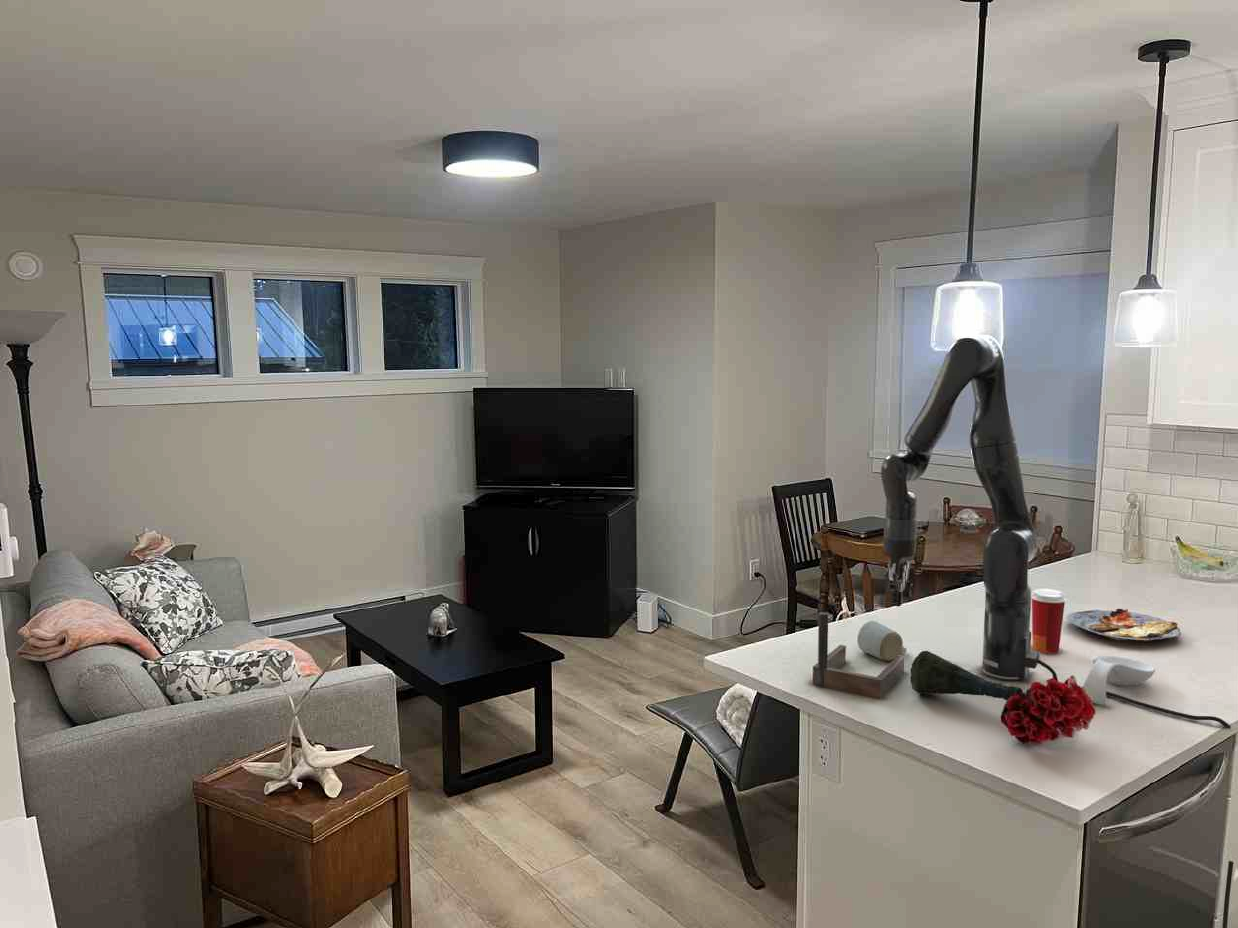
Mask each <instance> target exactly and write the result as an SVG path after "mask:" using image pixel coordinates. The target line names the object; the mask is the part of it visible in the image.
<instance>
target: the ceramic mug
mask: <svg viewBox="0 0 1238 928" xmlns="http://www.w3.org/2000/svg"><path fill="white" fill-rule="evenodd" d="M856 639H857V640H856V641H857V646H858V648H859V649H860V651H862V652H864V653H866V654H868V655H871V656H873V657H875V658H878V659H879V660H882V661H886V662H890V661H891V662H892V661H893V660H894V659H895V658H896V657H897V656H900V654H901V655H906V653H907V647H905V646H904V642H903V637H902V636H901V635H900V634H899V633H898V632H897V631H895V630H894V629H891V628H890V627H887V626H885V625H884V624H881V623H880V622H877V621H875V620H870V621H867V622H865V623H864V624H863V625H862V626H861V627H860V629H859V631H858V633H857V638H856Z"/></svg>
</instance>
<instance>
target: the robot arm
mask: <svg viewBox="0 0 1238 928" xmlns="http://www.w3.org/2000/svg"><path fill="white" fill-rule="evenodd" d="M1004 358H1005V357H1004V351H1003V349H1002V346H1001V345H1000V343H999V342H998V341H997V339H996V338H994V337H993V336H990V335H988V334H980V335H968V336H963V337H961V338H958V339H957V340H955V341H954V342H953V343H952V344H951V345H950V347H949V349H948V350H947V352H946V355H945V356H944V359H943V362H942V365H941V367H940V369H939V372H938V374H937V376H936V379H935V381H934V383H933V386H932V388H931V390H930V392H929V394H928V397H927V399H926V401H925V402H924V404H923V406H922V408H921V409H920V411H919V413H918V414H917V416H916V418H915V419H914V421H913V422H912V424H911V426H910V427H909V429H908V430H907V432H906V434H905V436H904V444H905V445H906V447H907V448H906V450H905V451H904V452H900V453H892V454H890V455H888V456H886V457H885V458H884V460H883V462H882V464H881V467H880V476H881V477H880V478H881V482H882V487H883V491H884V496H885V500H886V501H885V502H886V503H885V519H884V525H883V542H882V543H883V545H882V553H883V554H884V555H885V556H887V557H889V558H890V560H889V562H888V563H887V570H888V571H886V572H885V574H884V575H885V576H884V577H885V580H886V583H887V588H888V590H889V591H891V606H893V607H901V606H902V605H903V601H904V599H903V598H904V590H905V588H906V587H907V585H908V580H909V576H910V571H911V567H912V564H911V562H909V558H913V557H915V556H916V554H917V533H918V532H917V531H918V525H917V512H918V511H917V509H918V507H917V506H918V501H917V496H916V495H915V494H914V493H912V492H909V491H908V490H909V489H908V483H912V482H915V481H918V480H919V479H920V478H922V476H923V475H924V474H925V473H926V472H927V469H928V467H929V465H930V461H931V458H932V455H933V451H934V449H935V448H936V446H937V445H938V443H939V442H940V440H941V439H942V437H943V436H944V434H945V433H946V430H947V429H948V427H949V424H950V422H951V420H952V415H953V411H954V407H955V404H956V402H957V400H958V398H959V396H960V394H962V392H963V390H964V389H965V388H966V387H967V386H968V384H969V383H970V382H971V387H972V392H973V398H974V409H973V410H974V411H973V415H972V420H971V426H970V432H969V445H970V451H971V455H972V456H971V458H972V461H973V467H974V470H975V473H976V475H977V478H978V479H979V482H980V483H981V485H982V487H983V489H984V491H985V493H986V495H987V497H988V499H989V502H990V506H991V510H992V516H993V523H994V530H993V531H992V532H990V533H989V534H988V536H987V537H986V539H985V541H984V545H983V555H982V558H983V559H982V581H983V586H984V589H985V595H984V597H985V599H984V620H983V621H984V622H983V639H982V640H983V642H982V644H983V645H982V660H981V672H982V673H983V674H984V675H986V676H988V677H991V678H994V679H998V680H1002V681H1022V682H1025V681H1026V679H1027V678H1028V676H1029V675H1030V669H1033V670H1034V669H1036V668H1037V666H1038V664H1039V665H1040V666H1041V667H1043V668H1045V669H1046V670H1048V671H1049V672H1050V673H1051V675H1052V677H1054V679H1055V680H1056V681H1057V682H1060V681H1059V679H1058V674H1057V673H1056V671H1055V669H1053V667H1051V666H1050V665H1048V664H1047V663H1046V662H1044V661H1042V660H1040V652H1037V651H1035V650H1031V648H1032V647H1031V646H1032V631H1031V630H1030V628H1031V625H1030V624H1031V612H1032V598H1031V595H1032V592H1033V590H1032V587H1031V586H1030V585H1029V581H1028V580H1029V563H1030V562H1031V560H1033V559H1034V558H1035V557H1036V555H1037V551H1038V548H1039V547H1038V538H1037V534H1036V530H1035V528H1034V525H1033V521H1032V518H1031V516H1030V512H1029V508H1028V504H1027V501H1026V496H1025V495H1026V494H1025V488H1024V481H1023V475H1022V474H1023V473H1022V470H1021V463H1020V457H1019V456H1020V455H1019V451H1018V450H1019V449H1018V445H1017V444H1018V443H1017V441H1016V435H1015V432H1014V425H1013V421H1012V415H1011V409H1010V404H1009V399H1008V394H1007V383H1006V370H1005V369H1006V367H1005V359H1004ZM1106 696H1108V697H1111V698H1114V699H1118V700H1120V701H1123V702H1127V703H1130V704H1133V705H1135V706H1140V707H1143V708H1146V709H1151V710H1153V711H1156V712H1161V713H1164V714H1166V715H1171V716H1175V717H1180V718H1184V719H1189V720H1193V721H1214V722H1217V723H1219V724H1220V725H1222V726H1223V727H1225V728H1227V729H1231V728H1232V727H1231V726H1230V724H1228V723H1227V722H1226V721H1225V720H1224V719H1222V718H1220V717H1217V716H1213V715H1192V714H1188V713H1184V712H1179V711H1175V710H1171V709H1167V708H1164V707H1160V706H1157V705H1152V704H1149V703H1146V702H1142V701H1139V700H1135V699H1132V698H1129V697H1126V696H1124V695H1120V694H1117V693H1113V692H1110V691H1107V690H1106ZM1227 864H1228V865H1227V872H1226V881H1225V891H1224V901H1223V912H1222V924H1221V925H1222V926H1221V927H1222V928H1228V919H1229V909H1230V897H1231V887H1232V881H1233V880H1232V879H1233V870H1234V861H1232V860H1228V863H1227Z"/></svg>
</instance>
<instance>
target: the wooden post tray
mask: <svg viewBox="0 0 1238 928" xmlns="http://www.w3.org/2000/svg"><path fill="white" fill-rule="evenodd" d="M833 619H834V617H833V615H832V614H829V613H828V612H825V611H819V612H818V629H817V630H818V633H817V634H818V637H817V663H816V664H814V665H813V666H812V685H814V686H818V687H823V688H829V689H833V690H837V691H838V690H839V691H842V692H846V693H847V692H848V693H851V694H857V695H862V696H867V697H870V698H875V699H882V697H884V696H885V694H886V693H887V692H888V691H889V690H890V689H891V688H892V687H893V686H894V685H895V684H896V683H897V682H898V681H899V680H900V679H901V677H902V676H904V674H905V656H902V655H899V656H897V657H896V658H895V659H894V660H891V662H890V663H889V664H888V665H887V666H885V668H884V669H883V670H882V671H881V672H880V673H879V674H878V675H877V676H874V675H868V674H865V673H859V672H855V671H848V670H844V669H840V668H841V667H842V666H843V665H844V664H846V661H847V659H846V657H847V656H846V655H847V653H846V652H847V645H844V644H839V645H838V646H837V647H835V648H833V650H832V651H831V652H829V653H828V650H829V649H828V648H829V647H828V646H829V622H831V621H832V620H833Z"/></svg>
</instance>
